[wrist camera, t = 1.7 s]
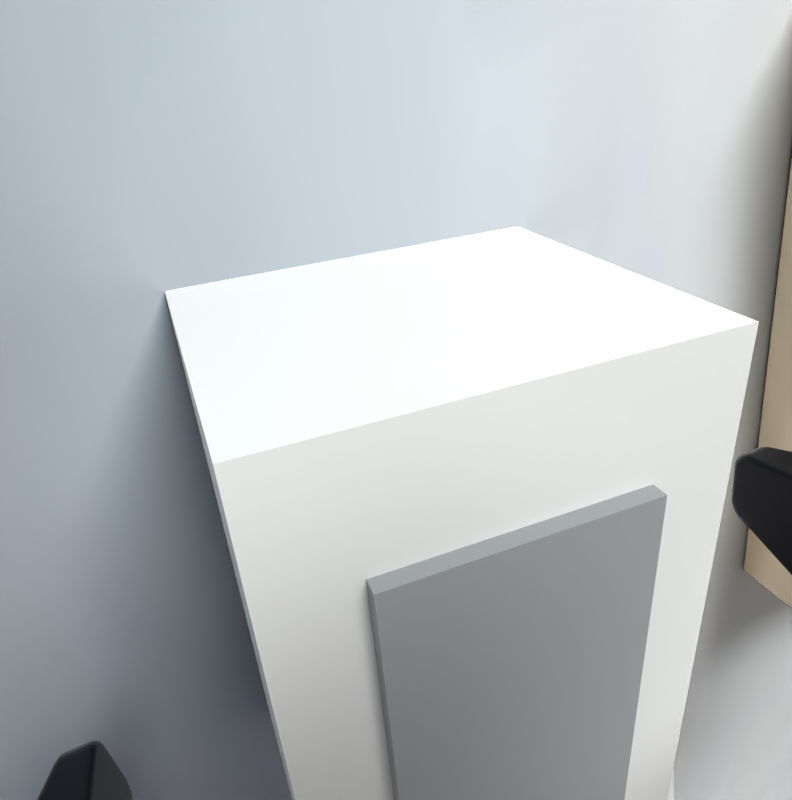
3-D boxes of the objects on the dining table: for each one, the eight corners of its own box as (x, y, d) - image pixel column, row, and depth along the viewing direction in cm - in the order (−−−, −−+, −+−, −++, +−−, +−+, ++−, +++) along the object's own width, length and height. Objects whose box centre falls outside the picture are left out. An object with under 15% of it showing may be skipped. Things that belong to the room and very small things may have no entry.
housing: (511, 223, 10) (777, 328, 6) (509, 616, 14) (671, 837, 10) (163, 286, 9) (216, 479, 5) (268, 706, 12) (346, 1007, 8)
